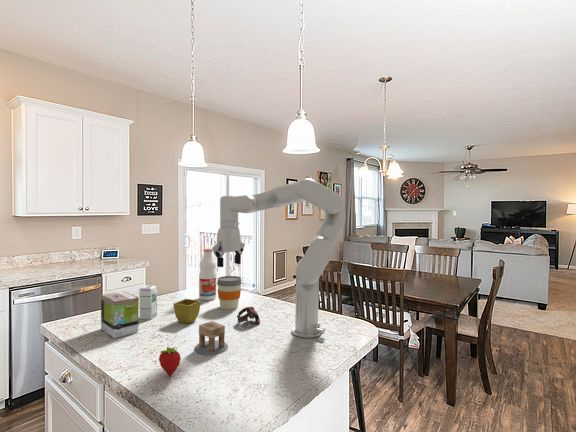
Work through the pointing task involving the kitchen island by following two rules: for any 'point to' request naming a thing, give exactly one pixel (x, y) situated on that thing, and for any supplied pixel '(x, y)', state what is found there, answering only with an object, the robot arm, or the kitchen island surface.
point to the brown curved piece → (248, 315)
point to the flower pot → (187, 310)
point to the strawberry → (169, 360)
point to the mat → (206, 349)
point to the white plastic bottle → (207, 277)
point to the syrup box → (148, 302)
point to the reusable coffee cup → (229, 291)
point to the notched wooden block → (211, 334)
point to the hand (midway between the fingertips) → (229, 265)
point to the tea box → (119, 314)
